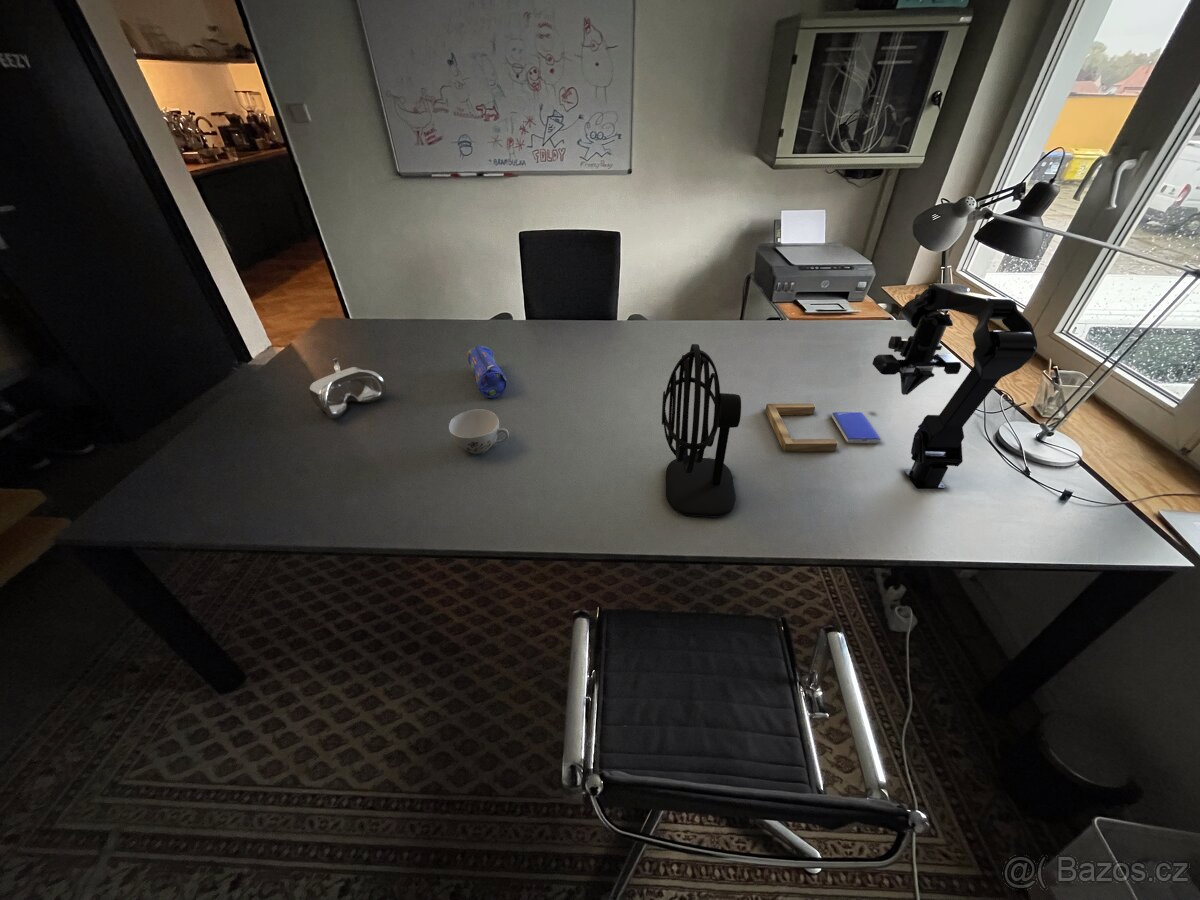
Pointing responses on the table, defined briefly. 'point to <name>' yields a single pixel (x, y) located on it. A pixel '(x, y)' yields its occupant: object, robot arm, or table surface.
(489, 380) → the pencil case
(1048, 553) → the table surface
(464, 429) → the teacup
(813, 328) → the table surface
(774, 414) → the dock
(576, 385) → the table surface
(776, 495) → the table surface
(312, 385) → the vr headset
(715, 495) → the desk fan
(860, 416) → the hard drive
